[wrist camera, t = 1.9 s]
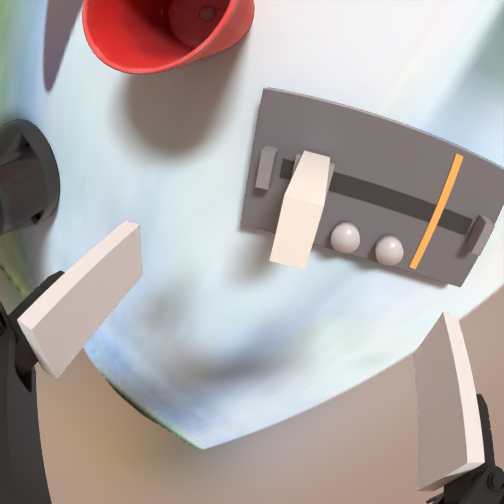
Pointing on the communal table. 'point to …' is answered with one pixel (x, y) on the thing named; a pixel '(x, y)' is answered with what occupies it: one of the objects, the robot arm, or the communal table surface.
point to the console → (377, 186)
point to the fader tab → (302, 209)
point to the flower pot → (162, 31)
